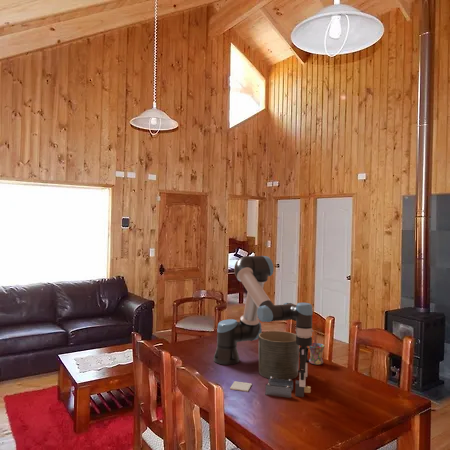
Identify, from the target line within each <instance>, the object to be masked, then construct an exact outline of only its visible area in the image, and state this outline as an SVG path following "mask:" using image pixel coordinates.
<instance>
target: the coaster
mask: <svg viewBox="0 0 450 450" xmlns="http://www.w3.org/2000/svg"><path fill="white" fill-rule="evenodd" d="M251 387H252V383H250V382H242V381H237V380H236V381H235V380H234V381H233V383H232V384H231V386H230V387H229V390H233V391H240V392H246V393H247V392H249V391H250V389H251Z"/></svg>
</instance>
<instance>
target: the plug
mask: <svg viewBox="0 0 450 450" xmlns="http://www.w3.org/2000/svg"><path fill="white" fill-rule="evenodd" d="M311 388H312V387H311V386H308V385H305V387H299V380H297V379H295V387H294V389H295V391H294V393H295V394H294V395H295V397H300V398H304V397H305V393H306V394H311V391H312V389H311Z"/></svg>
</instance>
